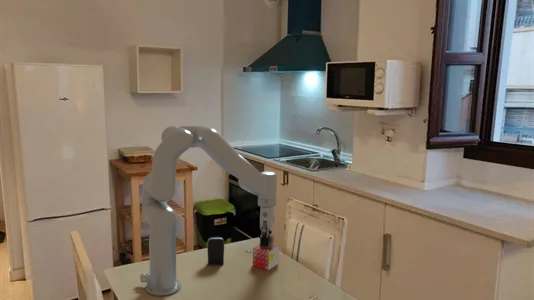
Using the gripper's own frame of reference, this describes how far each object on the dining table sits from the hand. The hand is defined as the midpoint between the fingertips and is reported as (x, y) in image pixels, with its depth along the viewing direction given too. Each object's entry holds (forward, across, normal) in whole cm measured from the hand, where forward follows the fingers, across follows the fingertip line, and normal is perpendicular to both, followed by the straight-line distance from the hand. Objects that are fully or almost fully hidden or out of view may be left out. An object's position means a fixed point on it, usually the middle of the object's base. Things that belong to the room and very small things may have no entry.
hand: (266, 241), depth 178 cm
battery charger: (+10, -3, +21) cm, 24 cm away
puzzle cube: (+10, 0, 0) cm, 10 cm away
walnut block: (+2, 0, 0) cm, 2 cm away
